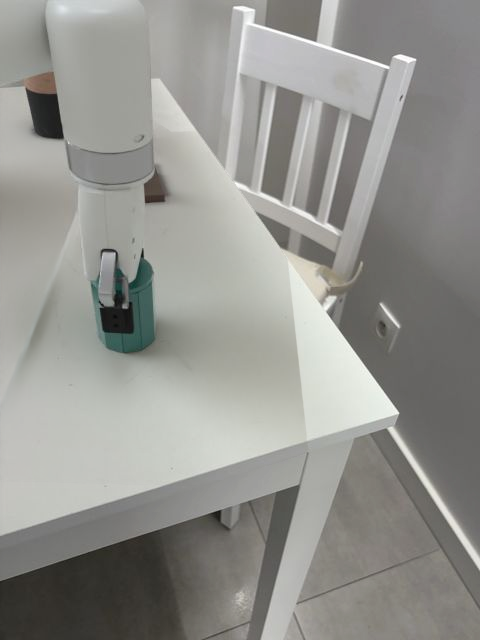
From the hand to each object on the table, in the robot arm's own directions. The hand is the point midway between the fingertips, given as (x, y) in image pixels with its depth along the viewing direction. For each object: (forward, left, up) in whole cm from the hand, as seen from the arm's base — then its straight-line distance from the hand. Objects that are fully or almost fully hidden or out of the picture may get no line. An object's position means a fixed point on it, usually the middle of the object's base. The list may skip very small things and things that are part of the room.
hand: (125, 302), depth 61 cm
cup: (0, 0, -5) cm, 5 cm away
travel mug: (-19, +49, -5) cm, 53 cm away
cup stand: (-4, +33, -5) cm, 34 cm away
